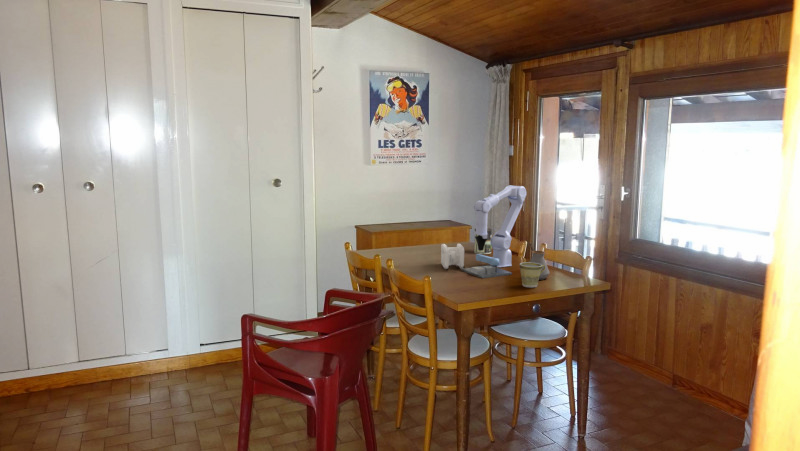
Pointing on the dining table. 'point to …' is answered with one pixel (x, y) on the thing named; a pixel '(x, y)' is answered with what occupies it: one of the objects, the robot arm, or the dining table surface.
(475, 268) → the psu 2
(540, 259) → the coffee pot
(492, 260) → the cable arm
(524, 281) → the ceramic cup
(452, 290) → the dining table surface
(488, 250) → the coffee can
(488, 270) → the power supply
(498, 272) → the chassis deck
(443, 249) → the cable organizer
